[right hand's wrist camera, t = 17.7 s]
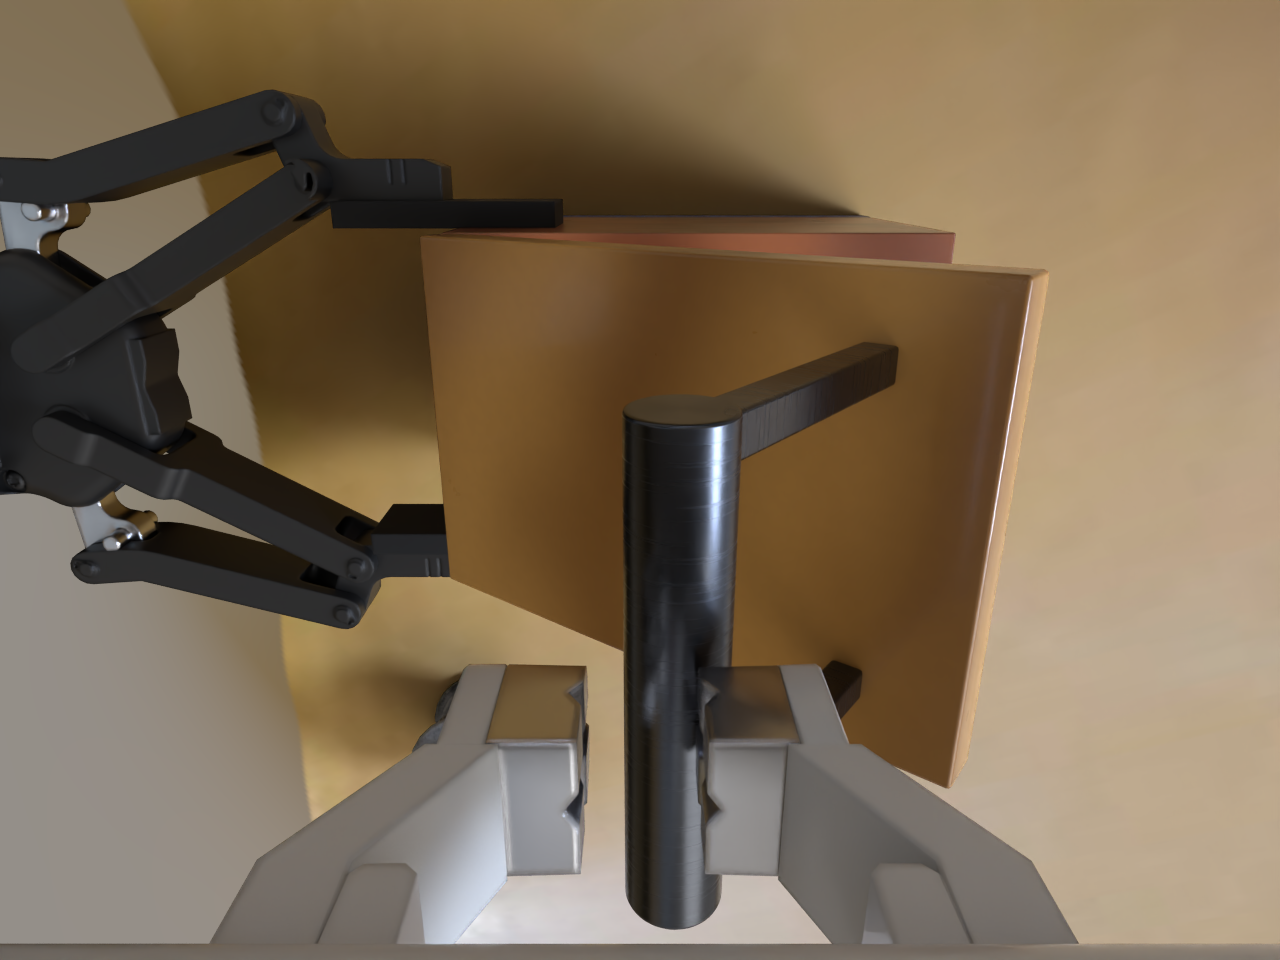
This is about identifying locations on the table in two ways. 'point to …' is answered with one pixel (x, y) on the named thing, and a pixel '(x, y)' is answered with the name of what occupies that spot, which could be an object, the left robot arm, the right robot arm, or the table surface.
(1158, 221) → the table surface
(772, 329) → the lid
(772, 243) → the chest
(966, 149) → the table surface
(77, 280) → the left robot arm
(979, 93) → the table surface
